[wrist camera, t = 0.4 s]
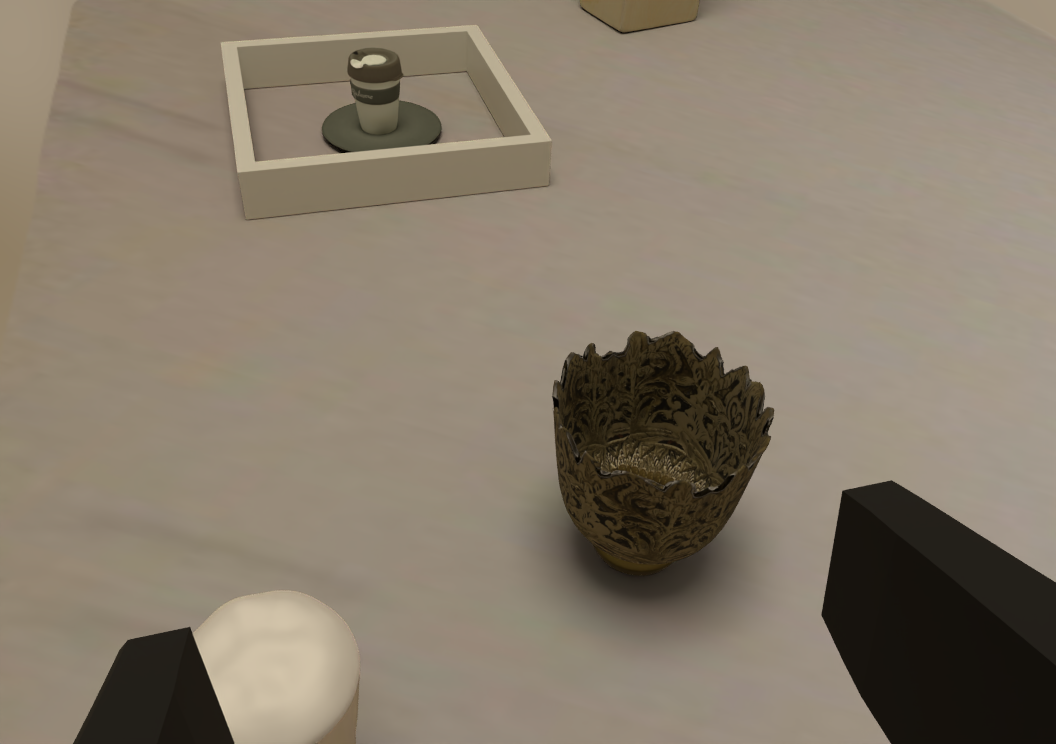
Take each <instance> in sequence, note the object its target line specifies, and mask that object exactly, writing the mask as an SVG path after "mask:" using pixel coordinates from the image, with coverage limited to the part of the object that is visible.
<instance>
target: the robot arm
mask: <svg viewBox="0 0 1056 744" xmlns="http://www.w3.org/2000/svg"><path fill="white" fill-rule="evenodd" d="M822 617H823V619H824V621H825V624H826V626H827V628H828V630H829V632H830V634H831V636H832V638H833V641H834V643H835V645H836V647H837V649H838V651H839V653H840V655H841V658H842V660H843V662H844V664H845V666H846V668H847V670H848V672H849V674H850V676H851V677H852V679H853V681H854V683H855V685H856V687H857V689H858V691H859V693H860V695H861V697H862V699H863V700H864V702H865V703H866V705H867V707H868V708H869V710H870V711H871V713H872V715H873V716H874V718H875V719H876V721H877V722H878V724H879V725H880V727H881V729H882V730H883V732H884V733H885V735H886V736H887V738H888V740H889V741H890V743H891V744H1056V582H1054V581H1053V580H1051V579H1049V578H1048V577H1046V576H1044V575H1043V574H1041V573H1039V572H1038V571H1036V570H1035V569H1033V568H1031V567H1030V566H1028V565H1027V564H1025V563H1023V562H1022V561H1020V560H1019V559H1017V558H1015V557H1014V556H1012V555H1011V554H1009V553H1007V552H1006V551H1004V550H1003V549H1001V548H1000V547H998V546H996V545H995V544H993V543H992V542H990V541H988V540H987V539H985V538H984V537H982V536H980V535H979V534H977V533H976V532H974V531H973V530H971V529H969V528H968V527H966V526H965V525H963V524H962V523H960V522H958V521H957V520H955V519H954V518H952V517H951V516H949V515H947V514H946V513H944V512H943V511H941V510H939V509H938V508H936V507H935V506H933V505H931V504H930V503H928V502H927V501H925V500H923V499H922V498H920V497H919V496H917V495H915V494H914V493H912V492H910V491H909V490H907V489H905V488H904V487H902V486H900V485H899V484H897V483H895V482H893V481H892V480H891V481H887V482H882V483H877V484H872V485H867V486H863V487H858V488H853V489H848V490H844V491H842V497H841V503H840V509H839V515H838V520H837V526H836V532H835V538H834V544H833V550H832V556H831V562H830V568H829V573H828V579H827V585H826V591H825V597H824V603H823V609H822ZM73 744H235V743H234V740H233V738H232V735H231V733H230V730H229V727H228V725H227V722H226V720H225V717H224V714H223V712H222V709H221V706H220V704H219V701H218V699H217V696H216V693H215V691H214V688H213V686H212V683H211V680H210V678H209V675H208V673H207V670H206V667H205V665H204V662H203V660H202V657H201V654H200V652H199V649H198V647H197V644H196V641H195V639H194V636H193V634H192V631H191V628H190V627H188V628H183V629H178V630H173V631H168V632H164V633H159V634H154V635H149V636H144V637H140V638H135V639H130V640H127V642H126V643H125V644H124V645H123V647H122V648H121V649H120V650H119V652H118V654H117V656H116V659H115V661H114V663H113V665H112V667H111V669H110V671H109V673H108V675H107V677H106V679H105V681H104V683H103V685H102V687H101V689H100V691H99V693H98V696H97V698H96V700H95V702H94V704H93V706H92V708H91V710H90V712H89V714H88V716H87V718H86V720H85V721H84V723H83V725H82V727H81V729H80V731H79V733H78V735H77V737H76V739H75V741H74V743H73Z"/></svg>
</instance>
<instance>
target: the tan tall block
mask: <svg viewBox="0 0 1056 744" xmlns="http://www.w3.org/2000/svg"><path fill="white" fill-rule="evenodd" d="M699 1H700V0H580V5H581V6H582V7H583V8H584V9H585V10H586V11H588V12H589V13H591V14H593V15H594V16H596V17H597V18H599V19H601V20H602V21H604V22H605V23H607V24H608V25H610V26H612V27H613V28H615V29H617V30H619V31H620V32H630V31H636V30H641V29H647V28H653V27H659V26H665V25H670V24H676V23H682V22H687V21H692V20H694V19H695V18H696V16H697V12H698V7H699Z"/></svg>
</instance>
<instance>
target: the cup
mask: <svg viewBox="0 0 1056 744" xmlns="http://www.w3.org/2000/svg"><path fill="white" fill-rule="evenodd" d="M595 348H596V347H595V344H594V343H591V344H589V345H588V346H587V348H586V349H585V352H584V355H583V356H581V355H579V354H575V353H574V352H571V353H570V354H569V355H568V357H567V358H566V360H565V362H564V366H563V370H562V376H561V381H560V382H559V381H557V380H555V381H554V386H553V396H552V397H553V403H554V411H553V413H554V428H555V444H556V458H557V468H558V477H559V484H560V489H561V493H562V497H563V500H564V504H565V507H566V509H567V511H568V513H569V515H570V517H571V519H572V521H573V522H574V524H575V525H576V527H577V528H578V530H579V531H580V532H581V533H582V534H583V535H584V536H585V537H586V538H587V539H588V540H589V541H590V542H591V543H592V544H593V546H594V548H595V550H596V552H597V553H598V555H599V556H600V557H601V559H602V560H603V561H604V562H605V563H607V564H608V565H609V566H610V567H612V568H614V569H615V570H617V571H620V572H622V573H625V574H629V575H636V576H644V575H651V574H655V573H657V572H660V571H662V570H663V569H665V568H667V567H668V566H669V565H670V564H672V563H673V562H674V561H677V560H680V559H683V558H686V557H688V556H690V555H693V554H694V553H696V552H698V551H699V550H701V549H702V548H703V547H705V546H706V545H707V544H708V543H710V542H711V541H712V540H713V539H714V538H715V537H716V536H717V534H718V533H719V532H720V531H721V530H722V528H723V527H724V525H725V524H726V523H727V521H728V520H729V518H730V517H731V515H732V513H733V512H734V510H735V508H736V506H737V504H738V502H739V500H740V498H741V497H742V495H743V493H744V491H745V489H746V487H747V485H748V483H749V481H750V479H751V477H752V475H753V473H754V470H755V468H756V466H757V464H758V462H759V460H760V458H761V456H762V454H763V453H764V451H765V450H766V448H767V446H768V444H769V442H770V439H771V436H769V435H768V430H769V427H770V425H771V423H772V420H773V416H774V409H773V408H770V407H767V408H766V409H764V411H763V406H764V399H765V393H764V388H763V385H762V384H761V383H760V382H759V383H758V382H756V381H755V382H752V380H751V379H750V378H749V370H748V367H747V366H742V367H739V368H737V369H735V370H733V369H732V370H730V371H729V372H727V373H726V374H724V368H723V363H724V362H723V360H722V358H721V354H720V351H719V349H718V347H715V348H714V349H713V350H712V351H710V352H709V353H708V354H707V355H706V356H702V355H701V354H699V353H698V352H697V351H696V349H695V346H694V344H693V343H691V342H690V341H688V340H687V339H686V338H684V337H683V336H682V335H681V334H680V333H679V332H675V331H673V332H669V333H666V334H664V335H662V336H660V337H655V338H653V339H651V338H650V337H649V336H647V335H646V333H643V332H639V331H635V332H633V333H632V334H631V335H630V336H629V337H628V342H627V345H626V347H625V349H624V351H623V352H622V353H621V352H617V353H616V352H612V351H609V352H608V353H606V354H605V355H604V356H603V357H601V356H599V354H598V353H596V351H595ZM582 357H583V358H582Z"/></svg>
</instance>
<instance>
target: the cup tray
mask: <svg viewBox="0 0 1056 744" xmlns="http://www.w3.org/2000/svg"><path fill="white" fill-rule="evenodd" d="M221 48H222V56H223V64H224V71H225V79H226V87H227V95H228V103H229V110H230V118H231V126H232V134H233V142H234V149H235V157H236V165H237V173H238V178H239V184H240V189H241V195H242V200H243V206H244V211H245V217H246V220H249V219H258V218H267V217H275V216H284V215H293V214H302V213H311V212H320V211H329V210H337V209H346V208H355V207H364V206H373V205H382V204H390V203H399V202H408V201H417V200H426V199H435V198H444V197H452V196H461V195H470V194H479V193H488V192H497V191H506V190H514V189H523V188H532V187H541V186H549V176H550V162H551V147H552V140H551V139H550V137H549V136H548V134H547V133H546V131H545V129H544V128H543V126H542V125H541V123H540V122H539V120H538V119H537V117H536V116H535V114H534V112H533V111H532V109H531V108H530V106H529V105H528V103H527V102H526V100H525V98H524V97H523V95H522V94H521V92H520V91H519V89H518V88H517V86H516V85H515V83H514V81H513V80H512V78H511V77H510V75H509V74H508V72H507V71H506V69H505V67H504V66H503V64H502V63H501V61H500V60H499V58H498V57H497V55H496V54H495V52H494V50H493V49H492V47H491V46H490V44H489V43H488V41H487V40H486V38H485V37H484V35H483V33H482V32H481V30H480V29H479V27H478V26H477V25H469V26H454V27H439V28H424V29H409V30H395V31H380V32H365V33H350V34H335V35H320V36H306V37H291V38H276V39H261V40H246V41H232V42H221ZM364 48H383V49H387V50H391V51H393V52H395V53H396V54H397V55H398V56H399V59H400V64H401V69H402V73H403V76H414V75H427V74H439V73H452V72H464V71H467V72H468V74H469V76H470V78H471V79H472V81H473V83H474V85H475V86H476V88H477V90H478V92H479V93H480V95H481V97H482V99H483V100H484V102H485V104H486V106H487V107H488V109H489V111H490V113H491V114H492V116H493V118H494V120H495V121H496V123H497V125H498V127H499V128H500V130H501V132H502V134H503V135H504V137H502V138H492V139H482V140H472V141H462V142H452V143H442V144H431V145H421V146H411V147H401V148H391V149H381V150H370V151H360V152H350V153H340V154H330V155H320V156H310V157H299V158H289V159H279V160H269V161H259V162H255V157H254V150H253V144H252V138H251V131H250V125H249V119H248V112H247V106H246V100H245V93H244V89H251V88H264V87H276V86H289V85H301V84H314V83H327V82H339V81H350V79H351V77H350V76H349V75H348V73H347V67H348V58H349V56H350V54H351V53H353V52H354V51H356V50H360V49H364Z"/></svg>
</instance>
